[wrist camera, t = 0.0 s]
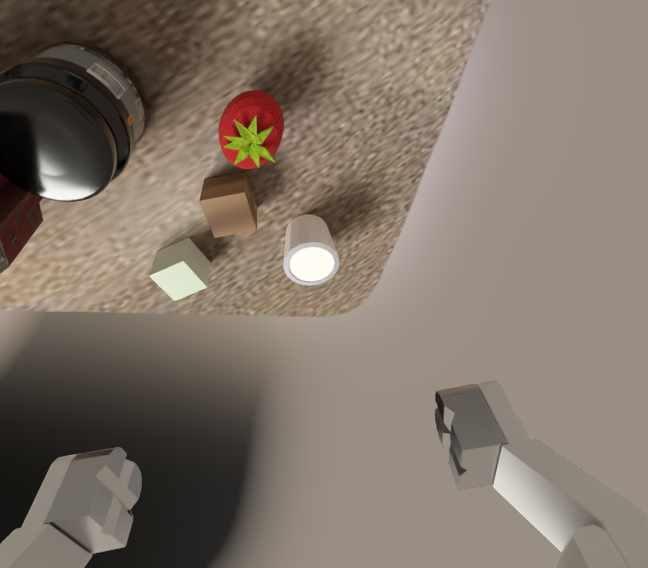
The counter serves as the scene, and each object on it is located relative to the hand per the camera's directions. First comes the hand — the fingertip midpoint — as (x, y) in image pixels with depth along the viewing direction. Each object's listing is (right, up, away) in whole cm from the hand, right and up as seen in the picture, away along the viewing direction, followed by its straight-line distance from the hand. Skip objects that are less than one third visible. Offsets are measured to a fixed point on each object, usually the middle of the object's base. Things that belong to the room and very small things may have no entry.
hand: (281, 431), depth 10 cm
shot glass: (-1, +11, +43) cm, 45 cm away
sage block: (-18, +7, +44) cm, 48 cm away
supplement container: (-22, +22, +29) cm, 43 cm away
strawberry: (-7, +22, +32) cm, 39 cm away
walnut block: (-10, +15, +38) cm, 42 cm away
